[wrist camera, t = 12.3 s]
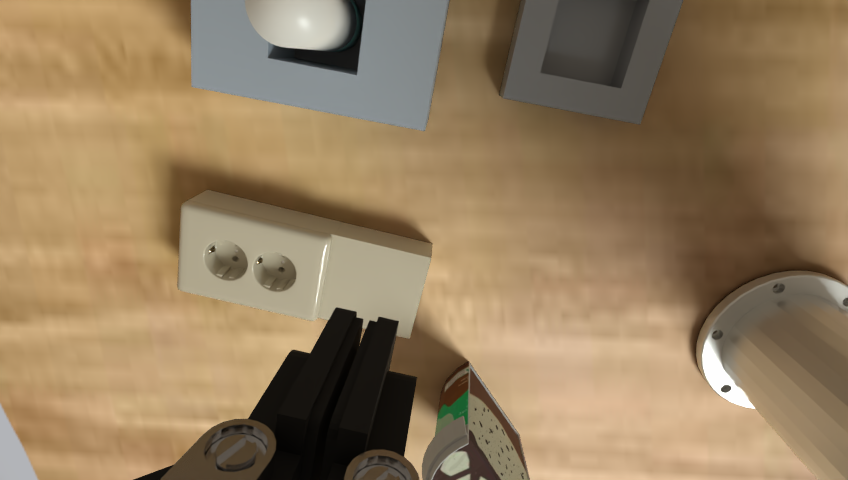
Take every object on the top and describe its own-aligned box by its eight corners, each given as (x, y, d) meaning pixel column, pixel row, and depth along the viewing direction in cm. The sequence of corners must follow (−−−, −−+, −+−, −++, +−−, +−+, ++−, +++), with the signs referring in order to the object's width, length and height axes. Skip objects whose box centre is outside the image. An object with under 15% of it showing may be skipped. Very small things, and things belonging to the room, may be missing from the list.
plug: (365, -4, 30) (326, -34, 20) (359, 56, 31) (319, 53, 22) (310, -14, 30) (245, -49, 20) (305, 46, 31) (243, 40, 22)
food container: (400, 377, 41) (386, 471, 32) (460, 348, 40) (464, 437, 31) (469, 469, 45) (475, 577, 36) (526, 445, 43) (548, 551, 34)
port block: (457, -42, 29) (459, -64, 24) (428, 119, 33) (424, 132, 27) (235, -86, 29) (185, -119, 23) (231, 81, 33) (188, 87, 27)
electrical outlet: (408, 345, 36) (174, 292, 35) (412, 318, 39) (201, 269, 39) (430, 263, 33) (178, 203, 32) (432, 241, 37) (206, 187, 36)
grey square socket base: (675, -27, 29) (694, -34, 27) (626, 119, 32) (640, 124, 30) (533, -55, 29) (541, -65, 26) (499, 95, 32) (503, 98, 30)
